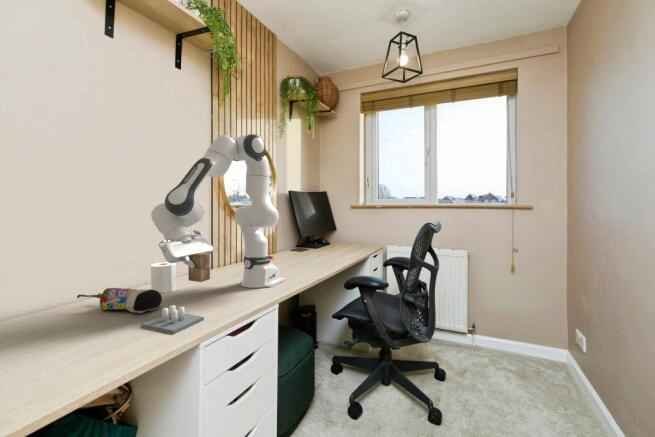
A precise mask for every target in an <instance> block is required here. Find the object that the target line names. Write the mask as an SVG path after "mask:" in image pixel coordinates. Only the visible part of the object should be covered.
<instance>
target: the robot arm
mask: <svg viewBox="0 0 655 437" xmlns="http://www.w3.org/2000/svg"><path fill="white" fill-rule="evenodd" d="M234 161H235V162H242V161H243V162H244V163H245V166H246V173H245V193H246V195H247V196H249V198H250V201H251V204H246V205H242V206H239V207H237V208H236V209H235V212H234V215H233V216H234V220H235V223H236V224H238V226H239V228H240V231H241V233H242V236H243V241H244V255H243V264H244V267H243V274H242V275H243V276H242V279H241V280H242V281H241V286H242V287H245V288H248V289H249V288H250V289H257V288H258V289H259V288H272V287H273V286H276V285H278V284H280V283H282V282H285V280H286V279H285V277H283V276H281V271H280V269H279V267H278V266H276V265H275V264H274V263H272V262H271V260H274V258H275V257H274V255H271V254H270V255H269V254H268V253H269V246H268V244H269V241H268V239H267V237H266V236H265V235H264V233H263V231H262V229H269V228H273V227H275V226H276V225H277V224H278V222H279V219H280V214H279V211H278V210H277V208H276V207H275V206H274V205H273V203H272V200H271V196H270V164H269V160H268V158H267V156H266V144H265V141H264V139H263V138H262V137H261V135H259V134H251V133H250V134H246V135H245V134H244V135H240V136H237V137H234V138H232V137H230V136H229V135H225V134H224V135H219V136H217V137H216V139H214V140H213V142H212V143H211V144H210V145H209V146H208V148H207V150H206V152H205V153H204V155H203V156H202V157H201V158H200V159H198V160H197V161H196V162H195V163H194V164H193V165H192V166H191V168H189V170H188V171H187V173H186V174H185V175H184V177H183V178H182V179H181V181H180V182H179V183H178V184H177V185H176V186H175V187H173V188H172V189H171V190H170V191H169V192H168V193H166V194H167V195H166V196H165V198H164V202H162V203H159V204H157V205H156V206H155V207H153V209H152V211H151V214H150V216H151V220H152V222H153V223H154V224H153V225H155V227H156V229H157V230H158V231H159V232H160V233H161V234H162V235H163V237H164V240H161V241H160V242H159V243H158V247H159V249H160V250H161V253H162V256H164V259H165V261H166V262H169V263H176V264H177V263H180V262H182V263H183V264H184V265H187V266H190V268H191V269H193V268H195V267H196V266H197V265H196V264H195V262H192V261H190V260H189V257H188V256H191V254H195V253H210V255H211V254H212V253H213V252H214V246H213V244H211V242H210V241H209V240H208V238H206V237H205V236H204V233H203V232H202V231H201V230H195V229H192V228H189V227H191V226H192V225H195V224H196V223H198V222H199V221H201V219H203V217H204V216H203V215H204V213H205V212H204V207H203V206H202V205H201V204H200V203H199V201H198V200H197V199H196V192H197V190H198V189H199V188H200V186H201V184H202V183H203V182H204V180H205V179H206V178H207V177H211V178H222V177H223V176H224V175H225V174H226V173H227V172H228V170H229V168H230V166H231V165H232V163H233V162H234Z"/></svg>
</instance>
